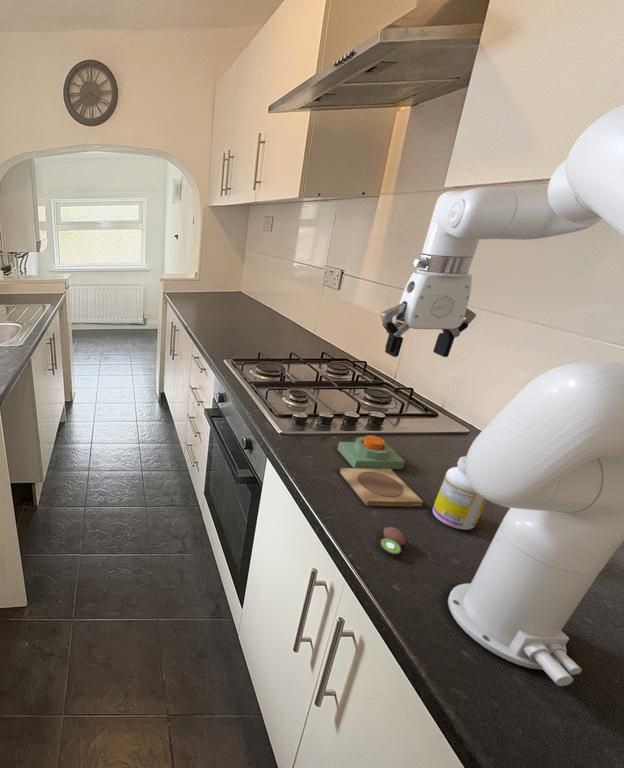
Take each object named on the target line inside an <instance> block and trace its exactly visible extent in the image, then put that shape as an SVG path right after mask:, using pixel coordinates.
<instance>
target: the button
mask: <svg viewBox="0 0 624 768" xmlns="http://www.w3.org/2000/svg"><path fill="white" fill-rule="evenodd" d="M364 437H365V438H364V441H363V445H364V446H366V447H368V448H370V449H374V450H382V449H383V446H384V443H386V441H385V440H384V439H383V438H381V437H379V436H376V435H373V434H372V435H371V434H369V435H365V436H364Z"/></svg>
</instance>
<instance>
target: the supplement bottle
mask: <svg viewBox="0 0 624 768" xmlns="http://www.w3.org/2000/svg"><path fill="white" fill-rule="evenodd" d="M466 457H467V455H464V456H463V455H462V456H460V457H459V458H458V461H457V463H456V465H457V466H453V467H450V468H449V469H447V471H446V473H445V476H444V479H443V481H442V483H441V486H440V488H439V491H438V493H437V496H436V499H435V500H434V504H433V507H432V514H433V515H434V517H435V518H436V519H437V520H438V521H439V522H441V523H442V524H444V525H446V526H448V527H451V528H453V529H457V530H465V531H467V530H472V529H474V528H475V527H476V525H477V523H478V521H479V518H480V516H481V514H482V512H483V510H484V507H485V505H486V503H487V502H488V500H486V499H485V498H483V497H482V496H480V495H479V494H478V493H477V492H476V491H475V490H474V489H473V488H472V486H471V485H470V483H469V481H468V479H467V475H466V470H465V463H466Z"/></svg>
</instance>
